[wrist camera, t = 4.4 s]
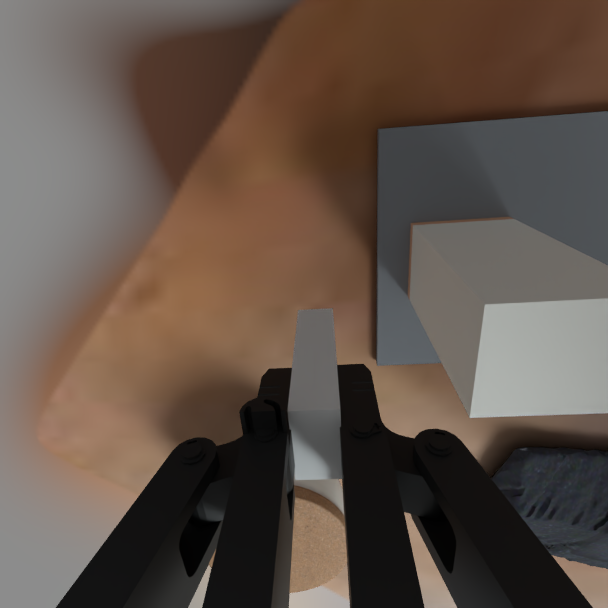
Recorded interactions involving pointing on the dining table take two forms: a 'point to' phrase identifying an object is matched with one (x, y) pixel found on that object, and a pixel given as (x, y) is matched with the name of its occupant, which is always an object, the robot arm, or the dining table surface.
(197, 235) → the dining table surface
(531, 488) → the dark slate chunk
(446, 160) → the mat
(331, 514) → the lidded jar
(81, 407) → the dining table surface
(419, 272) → the block
